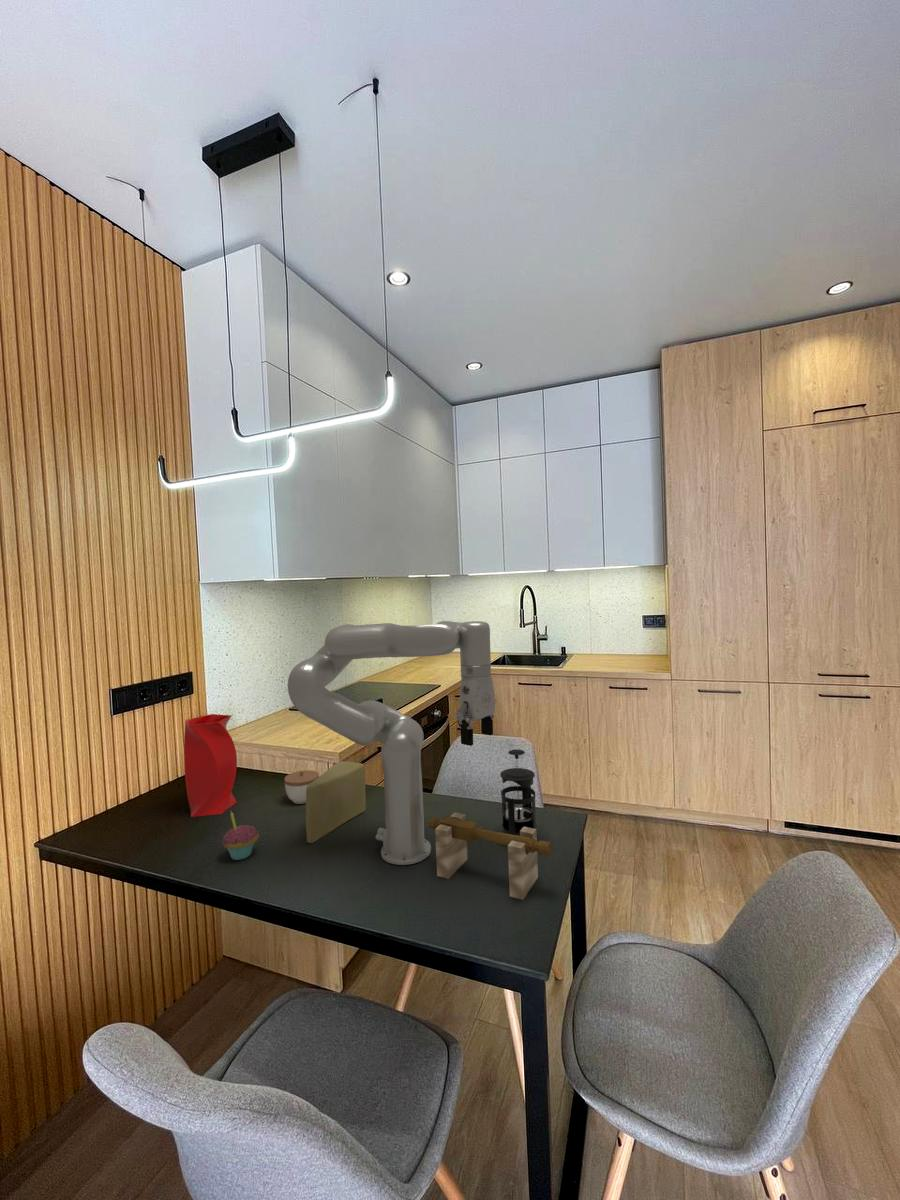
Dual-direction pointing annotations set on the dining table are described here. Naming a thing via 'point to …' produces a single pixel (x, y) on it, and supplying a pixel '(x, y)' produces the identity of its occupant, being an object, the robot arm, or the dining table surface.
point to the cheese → (334, 799)
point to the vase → (209, 764)
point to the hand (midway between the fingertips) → (477, 739)
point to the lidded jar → (299, 785)
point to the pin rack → (520, 861)
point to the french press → (518, 815)
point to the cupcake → (240, 840)
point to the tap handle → (489, 835)
